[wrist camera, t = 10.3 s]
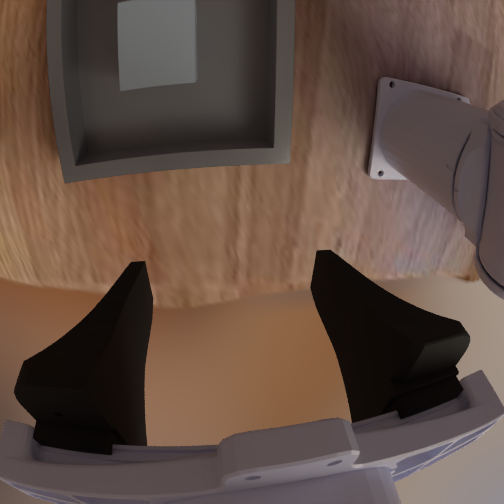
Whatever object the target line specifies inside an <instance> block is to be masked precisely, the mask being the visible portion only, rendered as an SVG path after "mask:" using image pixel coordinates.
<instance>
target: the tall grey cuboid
mask: <svg viewBox="0 0 504 504" xmlns="http://www.w3.org/2000/svg"><path fill="white" fill-rule="evenodd" d="M118 61H119V80H120V91H125V90H131V89H138V88H146V87H154V86H162V85H172V84H183V83H195V82H196V80H197V78H198V71H197V7H196V0H130V1H125V2H120V3H118Z"/></svg>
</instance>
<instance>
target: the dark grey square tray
mask: <svg viewBox="0 0 504 504" xmlns="http://www.w3.org/2000/svg"><path fill="white" fill-rule="evenodd" d="M125 1H130V0H47V16H46V37H47V63H48V78H49V89H50V99H51V107H52V115H53V122H54V129H55V135H56V142H57V147H58V153H59V158H60V163H61V168H62V173H63V178H64V182H65V183H71V182H77V181H83V180H90V179H97V178H104V177H112V176H119V175H128V174H136V173H145V172H155V171H165V170H176V169H188V168H201V167H216V166H234V165H258V164H290V150H291V130H292V107H293V80H294V43H295V0H196V7H197V71H198V78H197V80H196V82H195V83H183V84H172V85H162V86H154V87H146V88H138V89H131V90H125V91H120V80H119V61H118V3H120V2H125Z"/></svg>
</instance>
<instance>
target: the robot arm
mask: <svg viewBox="0 0 504 504" xmlns="http://www.w3.org/2000/svg"><path fill="white" fill-rule="evenodd" d="M390 82H392V87H390V86H389V83H390ZM457 98H458V100H457ZM379 171H381V174H379V175H378V172H379ZM368 175H369V177H371V178H372V179H388V180H410V181H411V182H412V183H414V184H415V185H416V186H418V187H419V188H420V189H422V190H423V191H424V192H426V193H427V194H428V195H429V196H431V197H432V198H433V199H435V200H436V201H437V202H438V203H440V204H441V205H442V206H443V207H444V208H446V209H447V210H448V211H449V212H451V213H452V214H453V215H454V216H455V217H457V218H458V219H459V220H460V221H461V222H462V223H463V224H464V227H465V237H466V238H467V239H468V240H470V241H471V242H472V243H473V244H474V245H475V246H476V252H475V267H476V270H477V273H478V275H479V277H480V278H481V280H482V281H483V283H484V284H485V285H486V286H487V287H488V288H489V289H490V290H491V291H492V292H493V293H494V294H496V295H497V296H499V297H500V298H502V299H504V100H503V101H500V102H499V103H498V104H497V105H496V106H494V107H492V108H491V109H490V110H489V111H487V110H485V109H482V108H479V107H476V106H473V105H471V104H470V101H469V99H468V98H467V97H464V96H461V95H458V94H455V93H451V92H448V91H444V90H441V89H437V88H433V87H429V86H425V85H421V84H417V83H413V82H408V81H404V80H399V79H394V78H389V77H381V78H380V79H379V81H378V90H377V101H376V111H375V120H374V129H373V137H372V145H371V153H370V160H369V167H368ZM310 288H311V291H312V295H313V299H314V302H315V305H316V308H317V310H318V313H319V315H320V317H321V320H322V322H323V324H324V327H325V329H326V331H327V334H328V336H329V338H330V340H331V343H332V345H333V347H334V350H335V353H336V355H337V359H338V362H339V366H340V370H341V373H342V376H343V381H344V384H345V389H346V393H347V398H348V403H349V408H350V413H351V419H352V423H351V424H350V421H347V420H344V419H341V418H331V419H323V420H318V421H313V422H307V423H302V424H296V425H290V426H285V427H278V428H270V429H262V430H254V431H248V432H243V433H238V434H233V435H231V436H229V437H227V438H225V439H223V440H222V441H221V442H220V443H219V445H203V446H161V447H160V446H147V438H146V424H145V400H144V379H145V363H146V356H147V349H148V343H149V337H150V330H151V324H152V314H153V296H152V291H151V287H150V282H149V278H148V273H147V268H146V263H145V261H139V262H131V263H130V264H129V265H128V266H127V268H126V269H125V270H124V272H123V273H122V274H121V276H120V277H119V278H118V280H117V281H116V282H115V283H114V285H113V286H112V287H111V289H110V290H109V291H108V292H107V294H106V295H105V296H104V297H103V298H102V299H101V301H100V302H99V303H98V304H97V305H96V306H95V308H94V309H93V310H92V311H91V312H90V313H89V314H88V315H87V316H86V317H85V318H84V319H83V320H82V321H81V322H79V324H77V325H76V326H75V327H74V328H72V329H71V330H70V331H69V332H68V333H66V334H65V335H64V336H63V337H61V338H60V339H59V340H57V341H56V342H55V343H53V344H52V345H50V346H49V347H47V348H46V349H44V350H43V351H41V352H39V353H37V354H36V355H34V356H32V357H30V358H29V359H27V360H25V361H24V362H23V365H22V367H21V370H20V373H19V376H18V379H17V383H16V385H15V389H14V394H15V396H16V399H17V400H18V401H19V403H20V404H21V405H22V406H23V407H24V408H25V409H26V410H27V412H28V413H30V415H31V416H33V418H34V419H35V420H36V425H35V428H34V427H32V426H30V425H27V424H24V423H20V422H15V421H10V420H5V423H4V427H3V431H2V435H1V439H0V480H2V481H4V482H5V483H7V484H9V485H10V486H12V487H14V488H16V489H18V490H19V491H21V492H23V493H25V494H27V495H29V496H31V497H35V498H39V499H42V500H46V501H49V502H53V503H56V504H401V502H400V499H399V496H398V493H397V490H396V487H395V485H394V482H396V481H398V480H401V479H403V478H405V477H407V476H409V475H411V474H414V473H416V472H418V471H420V470H422V469H424V468H426V467H428V466H430V465H432V464H434V463H436V462H438V461H440V460H442V459H444V458H445V457H447V456H449V455H451V454H453V453H455V452H456V451H458V450H460V449H462V448H464V447H465V446H467V445H469V444H471V443H472V442H474V441H476V440H477V439H478V438H479V437H481V436H482V435H483V434H484V433H485V432H486V431H488V430H489V429H490V428H491V427H492V426H493V425H494V424H495V423H497V421H499V420H500V419H501V418H502V417H503V416H504V406H503V405H502V403H501V401H500V400H499V398H498V396H497V394H496V392H495V391H494V389H493V387H492V386H491V384H490V382H489V381H488V379H487V377H486V376H485V374H484V373H483V371H482V370H479V371H477V372H475V373H473V374H470V375H468V376H466V377H464V378H463V379H461V380H460V381H459V380H458V379H457V377H456V375H458V373H459V371H458V369H457V368H456V364H457V363H458V362H459V360H460V359H461V357H462V356H463V354H464V353H465V351H466V350H467V348H468V346H469V343H470V336H469V334H468V333H467V331H466V330H465V328H464V327H463V326H462V324H461V323H460V322H459V321H456V320H453V319H449V318H446V317H442V316H439V315H436V314H434V313H431V312H428V311H426V310H423V309H421V308H418V307H416V306H414V305H412V304H410V303H408V302H406V301H404V300H402V299H399V298H398V297H396V296H394V295H393V294H391V293H389V292H388V291H386V290H384V289H383V288H381V287H380V286H378V285H377V284H375V283H374V282H372V281H371V280H369V279H368V278H367V277H365V276H364V275H363V274H361V273H360V272H359V271H357V270H356V269H355V268H353V267H352V266H351V265H350V264H348V263H347V262H346V261H344V260H343V259H342V258H341V257H339V256H338V255H337V254H335V253H334V252H332V251H331V250H318V251H317V252H316V258H315V264H314V270H313V276H312V281H311V287H310Z"/></svg>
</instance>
